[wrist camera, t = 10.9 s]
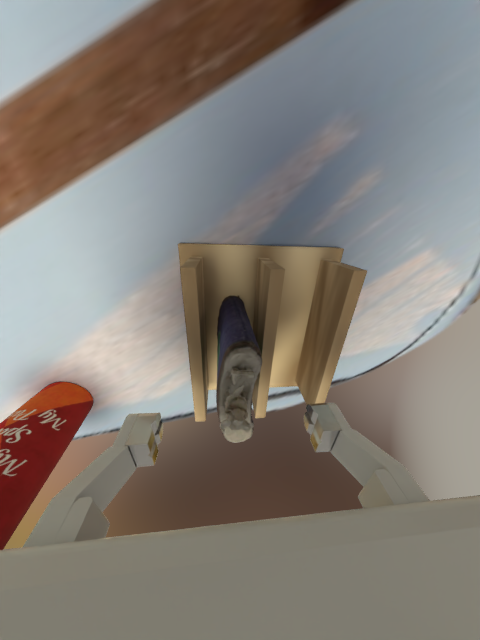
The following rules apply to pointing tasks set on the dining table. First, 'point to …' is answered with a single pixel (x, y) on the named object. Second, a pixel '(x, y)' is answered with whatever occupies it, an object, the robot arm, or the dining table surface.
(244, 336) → the flask
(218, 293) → the rack
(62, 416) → the paper cup
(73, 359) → the dining table surface
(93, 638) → the robot arm
